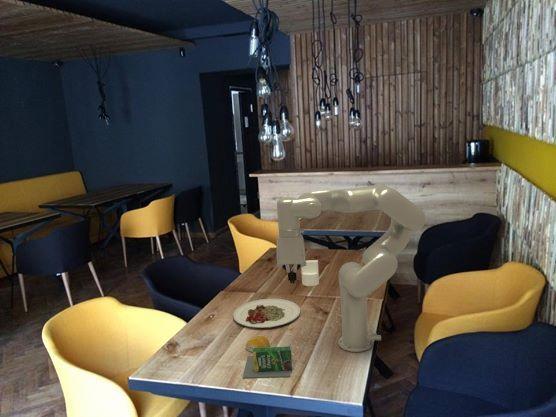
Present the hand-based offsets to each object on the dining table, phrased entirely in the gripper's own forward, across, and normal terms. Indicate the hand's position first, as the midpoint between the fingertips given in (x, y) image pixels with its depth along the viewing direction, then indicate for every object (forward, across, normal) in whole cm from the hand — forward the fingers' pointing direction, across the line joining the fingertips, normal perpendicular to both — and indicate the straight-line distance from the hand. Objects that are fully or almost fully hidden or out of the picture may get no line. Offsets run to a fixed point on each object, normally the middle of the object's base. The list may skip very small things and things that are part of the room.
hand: (292, 282), depth 159 cm
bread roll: (+28, +15, -4) cm, 32 cm away
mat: (+27, +10, +10) cm, 31 cm away
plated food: (+28, +14, -33) cm, 45 cm away
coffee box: (+23, +1, +12) cm, 26 cm away
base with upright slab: (+27, -6, -71) cm, 76 cm away
